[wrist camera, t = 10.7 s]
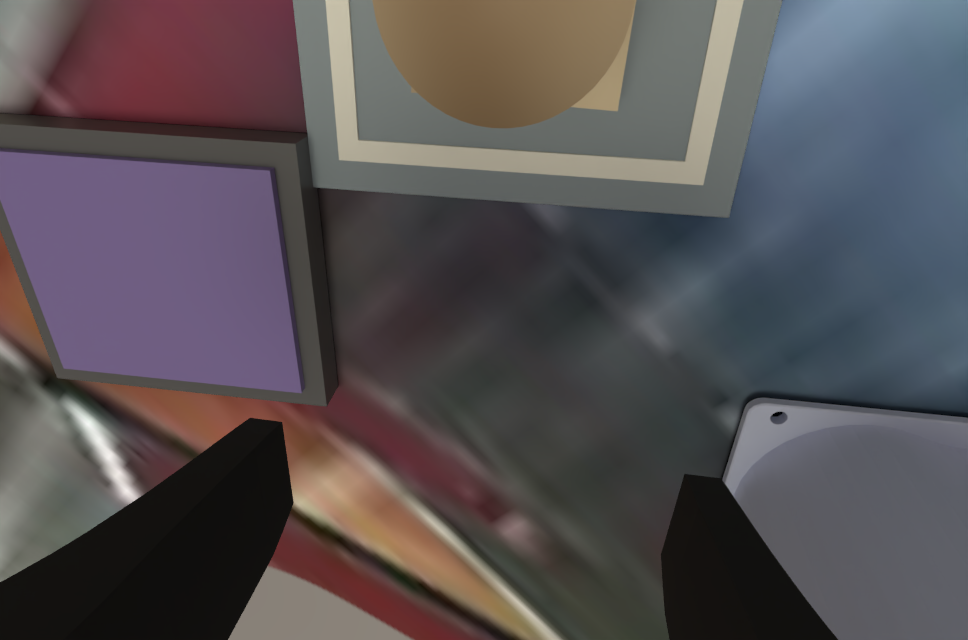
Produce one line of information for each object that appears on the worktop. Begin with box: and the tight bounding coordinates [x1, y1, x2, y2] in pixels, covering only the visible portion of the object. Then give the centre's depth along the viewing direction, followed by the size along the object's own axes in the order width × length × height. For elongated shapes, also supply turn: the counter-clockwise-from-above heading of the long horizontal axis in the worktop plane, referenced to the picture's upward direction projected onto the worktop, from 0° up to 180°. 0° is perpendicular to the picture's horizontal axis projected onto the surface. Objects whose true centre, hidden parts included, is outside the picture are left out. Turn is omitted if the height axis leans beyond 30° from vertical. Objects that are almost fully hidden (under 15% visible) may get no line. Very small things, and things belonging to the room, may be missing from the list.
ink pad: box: [0, 113, 338, 406], centre depth 20 cm, size 10×9×2 cm
